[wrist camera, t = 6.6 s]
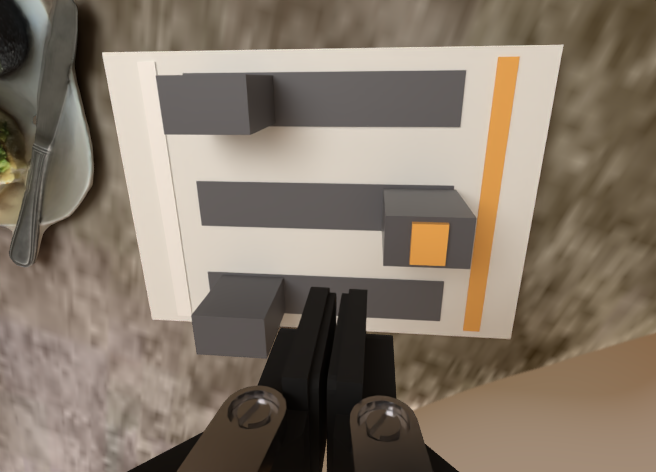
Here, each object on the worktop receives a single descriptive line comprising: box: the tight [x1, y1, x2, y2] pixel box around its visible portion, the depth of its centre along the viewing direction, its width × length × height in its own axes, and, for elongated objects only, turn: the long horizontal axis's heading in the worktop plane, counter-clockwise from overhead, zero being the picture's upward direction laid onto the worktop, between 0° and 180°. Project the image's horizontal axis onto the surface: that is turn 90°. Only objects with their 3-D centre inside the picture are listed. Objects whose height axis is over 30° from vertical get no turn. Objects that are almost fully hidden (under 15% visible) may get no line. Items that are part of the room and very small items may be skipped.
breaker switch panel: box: [102, 45, 563, 359], centre depth 23 cm, size 24×17×7 cm
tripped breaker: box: [382, 188, 477, 269], centre depth 21 cm, size 4×2×5 cm, turn 90°
